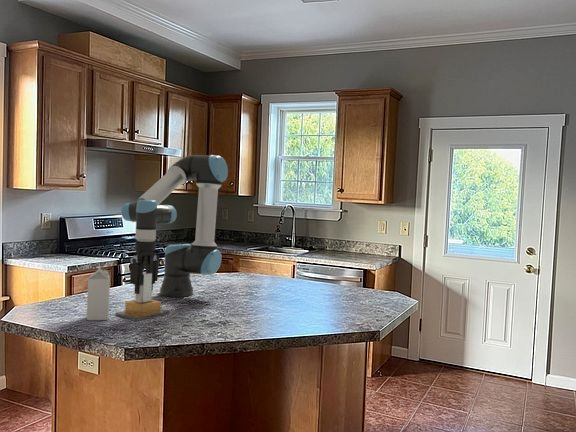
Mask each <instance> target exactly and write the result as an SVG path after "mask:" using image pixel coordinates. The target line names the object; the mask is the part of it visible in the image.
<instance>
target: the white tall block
mask: <svg viewBox="0 0 576 432" xmlns="http://www.w3.org/2000/svg"><path fill="white" fill-rule="evenodd" d="M141 285H142V303H141V304H144V303H149V302H151V300H152V295H151V288H152V273H148V272H146V271H143V274H142V280H141ZM137 303H139V302H137Z"/></svg>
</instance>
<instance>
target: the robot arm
mask: <svg viewBox="0 0 576 432" xmlns="http://www.w3.org/2000/svg"><path fill="white" fill-rule="evenodd" d="M228 168H229V167H228V164H227V161H226V159H224V157H222V156H220V155H217V154H216V155H215V154H202V155H201V154H191V155H187V156H185V157H183V158H181V159H179V160H177V161H176V162H174V163H173V164H172V165H171V166H170V167H168V168H167V172H166V173H165V174H164V175H163V176H162V177H161V178H159V180H157V182H155V183H154V184H153V185H152V186H151V187H150V188H149V189H147V190H146V191H145V192H144V193H143V194H142V195H141V196H139V198H137V200H136V201H134V202H126V203H125V204H123V206H122V207H121V212H120V213H121V217H122V219H123V220H124V221H125V222H126V221H127V222H132V223H135V237H134V238H135V242H134V251H135V255H134V256H133V257H129V258H128V260H129V261H128V262H129V265H130V267H129V268H130V269H129V270H130V271H129V273H130V274H129V275H130V277H129V278H130V279H129V282H130V284H131V285H134V294H135V299H134V300H135V302H139V303H142V285H141V280H142V274H143V272H144V268H145V272H148V273H152V288H151V296H152V294H153V293H152V292H153V288H154V284H156V282H157V281H158V279H159V263H160V259H161V256H159V255H156V254H155V251H156V247H157V246H156V245H157V244H156V241H155V240H156V239H157V225H169V224H172V223H174V222H175V221H176V219H177V218H178V217H177V216H178V214H177V213H178V212H177V209H176V208H175V207H174V206H173V205H171V204H170V205H169V204H162V202H163V201H164V200H166V199H167V198H168V197H169V195H170V194H172V193H173V192H174V191H175V190H176V189H177V188H178V187H179V186H181V185H182V186H183V185H184V184H185V183H187V182H189V181H195V184H196V186H197V187H198V199H197V210H196V225H195V226H196V227H195V238H194V239H195V240H194V241H193V242H191V243H183V244H182V243H181V244H179V243H178V244H169V245H167V246H166V247H165V250H164V251H165V254H164V276H163V280H162V284H161V286H160V288H159V294H160V295H162V296H163V297H164V296H165V297H175V298H177V297H178V298H179V297H188V296H189V297H190V296H192V295H193V294H194V287H193V285H192V281H191V274H195V275H202V276H212V275H214V274H216V273H217V271H219V268H220V267H221V264H222V256H223V255H222V252H221V251H220V250H219V249H218V245H217V244H216V242H215V239H216V238H215V237H216V223H217V222H216V221H217V210H218V209H217V208H218V196H219V194H218V193H219V189H220V188H222V185H223V183H224V182H225V181H227V178H228V176H229V169H228Z"/></svg>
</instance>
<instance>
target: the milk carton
mask: <svg viewBox="0 0 576 432" xmlns="http://www.w3.org/2000/svg"><path fill="white" fill-rule="evenodd" d="M101 267H102V266H101V265H99V267H98V269H97V270H96V271H94V272H93V273H92V274H91V275H90V276H89V277H88V279H87V298H86V299H87V301H86V321H108V319H109V317H110V316H109V315H110V287H111V275H110V272H109V271H108V270H107V269H102V268H101Z"/></svg>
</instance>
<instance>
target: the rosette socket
mask: <svg viewBox="0 0 576 432" xmlns="http://www.w3.org/2000/svg"><path fill="white" fill-rule="evenodd" d="M161 304H162V302H161V301H160V300H155V299H151V302H149V303H144V304H141V303H137V302H135V299H132V300H127V301H125V305H124V306H125V309H124V310H122V311H118V312H115V317H121V318H123V319H127V320H131V321H137V322H138V321H143V320H147V319H148V320H149V319H151V318H156V317H160V316H164V315H170V310H166V309H162V308H161Z"/></svg>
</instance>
